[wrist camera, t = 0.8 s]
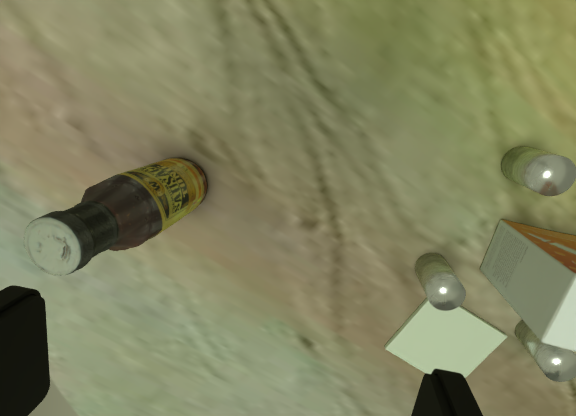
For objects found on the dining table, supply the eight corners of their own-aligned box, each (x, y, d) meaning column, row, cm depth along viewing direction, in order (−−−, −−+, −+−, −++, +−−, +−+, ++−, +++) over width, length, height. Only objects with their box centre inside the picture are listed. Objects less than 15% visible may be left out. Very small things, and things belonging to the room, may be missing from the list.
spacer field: (517, 139, 36) (552, 147, 30) (657, 231, 37) (715, 256, 31) (408, 270, 42) (420, 298, 36) (532, 348, 43) (563, 387, 37)
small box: (576, 234, 38) (692, 300, 26) (550, 286, 40) (647, 371, 28) (498, 216, 39) (577, 273, 26) (477, 269, 41) (540, 345, 28)
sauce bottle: (220, 186, 41) (126, 263, 22) (183, 219, 43) (67, 315, 24) (180, 141, 40) (46, 183, 21) (144, 176, 42) (-10, 243, 23)
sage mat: (434, 289, 42) (435, 292, 41) (505, 333, 42) (507, 336, 42) (384, 345, 45) (385, 348, 44) (451, 386, 45) (452, 389, 45)
